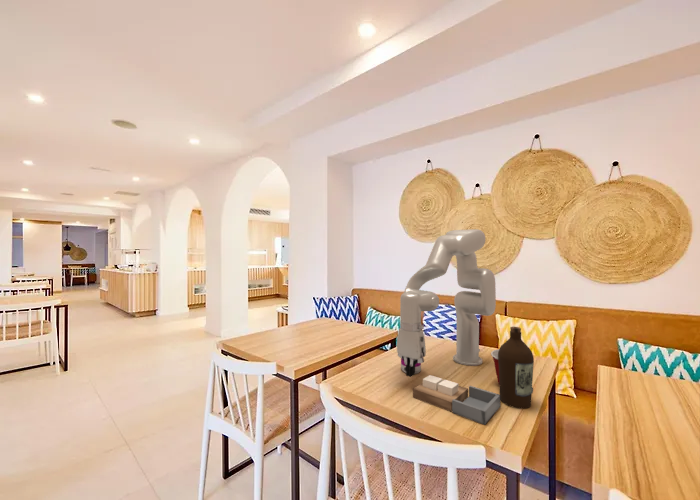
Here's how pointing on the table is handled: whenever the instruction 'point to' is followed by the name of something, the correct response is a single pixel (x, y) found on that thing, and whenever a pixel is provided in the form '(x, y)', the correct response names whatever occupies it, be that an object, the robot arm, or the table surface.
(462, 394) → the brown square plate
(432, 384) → the tile
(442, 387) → the tile
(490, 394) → the box
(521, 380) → the olive oil
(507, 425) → the table surface
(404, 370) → the supplement can
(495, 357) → the plastic cup
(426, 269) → the robot arm
